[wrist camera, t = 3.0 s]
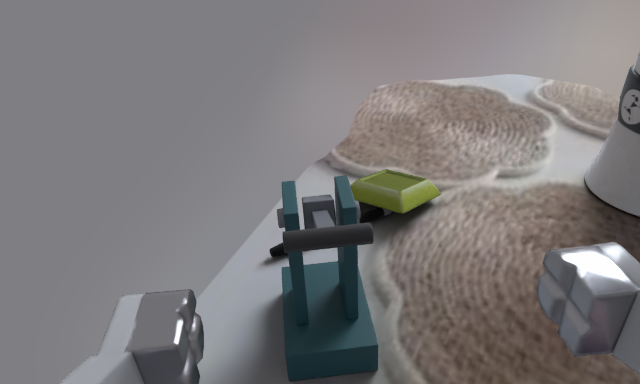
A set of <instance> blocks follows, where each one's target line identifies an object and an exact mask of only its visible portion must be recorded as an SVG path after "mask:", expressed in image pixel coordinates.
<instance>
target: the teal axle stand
mask: <svg viewBox="0 0 640 384" xmlns="http://www.w3.org/2000/svg"><path fill="white" fill-rule="evenodd" d="M334 181H335V203H336V225H337V226H342V225H351V224H357V220H359V219H360V205H359V202H358V201H355V200H354V196H353V193H352V190H351V187H350V183H349V180H348V177H347V176H337V177H334ZM282 197H283V208H282V209H277V216H278V225H279V228H284V227H285V231H294V230H300V226H299V216H298V206H297V197H296V187H295V181H287V182H282ZM288 257H289V265H290V267H282V287H283V309H284V332H285V355H286V363H287V369H288V376H289V381H295V380H303V379H311V378H319V377H327V376H335V375H344V374H352V373H360V372H368V371H376V370H378V343H377V339H376V335H375V331H374V327H373V323H372V319H371V315H370V311H369V308H368V304H367V300H366V296H365V292H364V288H363V284H362V280H361V276H360V273H359V269H358V250H357V245H355V246H346V247H338V261H337V262H328V263H319V264H310V265H303V256H302V251H299V252H290V253H288Z"/></svg>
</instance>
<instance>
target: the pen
mask: <svg viewBox="0 0 640 384" xmlns="http://www.w3.org/2000/svg"><path fill="white" fill-rule="evenodd" d="M391 212H392V211H390V210H387V209H384V208H380V207H379V208H376V209H373V210H371V211H368V212H365V213H362V214H360V219H359V220H357V224H361V223H367V222H370V221H373V220H375V219H378V218H380V217H384V216H385V215H390V214H391ZM336 226H337V225H336ZM270 254H271V256H272V257H276V256H280V255H284V254H288V253H285V252H284V245H283V243H281V244H279V245H277V246H275V247H273V248H271V249H270Z"/></svg>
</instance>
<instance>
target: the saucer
mask: <svg viewBox="0 0 640 384" xmlns="http://www.w3.org/2000/svg"><path fill="white" fill-rule="evenodd" d="M350 187H351V190H352V193H353V196H354V200H356V201H360V202H363V203H367V204H370V205H373V206H377V207H380V208H384V209H387V210H390V211H394V212H397V213H406V212H408V211H410V210H412V209H414V208H416V207H418V206H419V205H421V204H423V203H425V202H427V201H429V200H432V199H434V198H435V197H438V196H439V195H440V192H439V191H438V189H437V188H436V187H435V186H434V185H433V184H432V183H431V182H430V181H429V180H428V179H426V178H422V177H417V176H413V175H409V174H404V173H400V172H396V171H391V170H387V169H385V170H382V171H380V172H377V173H374V174H371V175H369V176H366V177H363V178H360V179H358V180H356V181H355V182H354V183H353V184H351V185H350Z"/></svg>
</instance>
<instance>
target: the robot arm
mask: <svg viewBox="0 0 640 384" xmlns="http://www.w3.org/2000/svg"><path fill="white" fill-rule="evenodd" d="M585 181H586V184H587V186H588V187H589V189H590V190H591V191H592V192H593V193H594V194H595V195H596V196H598V197H599V198H600V199H602V200H603V201H605V202H607V203H608V204H610V205H612V206H614V207H616V208H618V209H620V210H623V211H625V212H628V213H630V214H633V215H636V216H639V217H640V51H639V54H638V58H637V61H636V64H635V65H633V66H632V67H631V68H630V70H629V72H628V75H627V78H626V81H625V84H624V87H623V90H622V93H621V96H620V104H619V112H618V115H617V117H616V119H615V121H614V124H613V126H612V128H611V130H610V132H609V134H608V136H607V138H606V141H605V143H604V145H603V147H602V148H601V150H600V152H599V154H598V156H597V157H596V159H595V161H594V162H593V164H592V165H591V167H590V168H589V169H588V171H587V172H586V174H585ZM543 264H544V266H545V267H546V269H547V271H546V272H545V273H544V274H543V275H542V276H541V277H540V278H539V280H538V285H537V295H538V301H539V303H540V306H541V308H542V310H543V312H544V313H545V315H546V316H547V318H549V319H551V320H552V321H554V322H556V323H557V324H559V330H558V334H559V335H560V337H561V338H562V339H563V341H564V342H565V344H566V345H567V347H568V348H569V349H570V351H571V352H572V354H573V355H574V357H576V356H586V355H597V354H608V353H612V355H613V356H614V357H616V358H617V359H618V360H620V361H621V362H623V363H624V364H626V365H627V366H629V367H630V368H631V369H633V370H634V371H636V372H637V373H639V374H640V263H639V262H638V261H637V260H636V259H635V258H634V257H633V256H632V255H631V254H630V253H629V252H628V251H626V250H625V249H624V248H623V247H622V246H621V245H619V244H617V243H615V242H609V243H601V244H593V245H587V246H579V247H570V248H562V249H553V250H549V251H548V252H547V253H546V255H545V258H544V261H543ZM195 308H196V299H195V296H194V292H193V291H192V290H191V289H188V290H176V291H164V292H154V293H146V294H136V295H123V296H122V297H121V298H120V299H119V300H118V301H117V304H116V306H115V309H114V311H113V314H112V317H111V319H110V322H109V324H108V327H107V330H106V332H105V335H104V338H103V340H102V343H101V345H100V348H99V350H98V353H97V356H92V357H88V358H87V359H86V360H85V361H84V362H83V363H82V364H80V365H79V366H78V367H77V368H76V369H75V370H74V371H73V372H71V374H69V375H68V376H67V377H66V378H65V379H63V380H62V381H61V382H60V383H59V384H199V379H200V374H199V371H198V367H197V364H198V363H199V362H200V361H201V359H202V358H203V350H204V332H203V325H202V321H201V317H200V316H199V315H198V314H197V313H195Z"/></svg>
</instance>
